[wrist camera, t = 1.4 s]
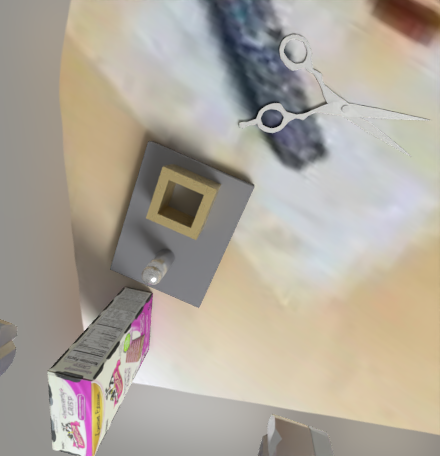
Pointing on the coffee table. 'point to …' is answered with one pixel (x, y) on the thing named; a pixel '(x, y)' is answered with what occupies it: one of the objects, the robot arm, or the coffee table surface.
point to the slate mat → (176, 242)
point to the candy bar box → (98, 373)
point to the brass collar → (173, 217)
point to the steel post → (158, 267)
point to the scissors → (329, 103)
